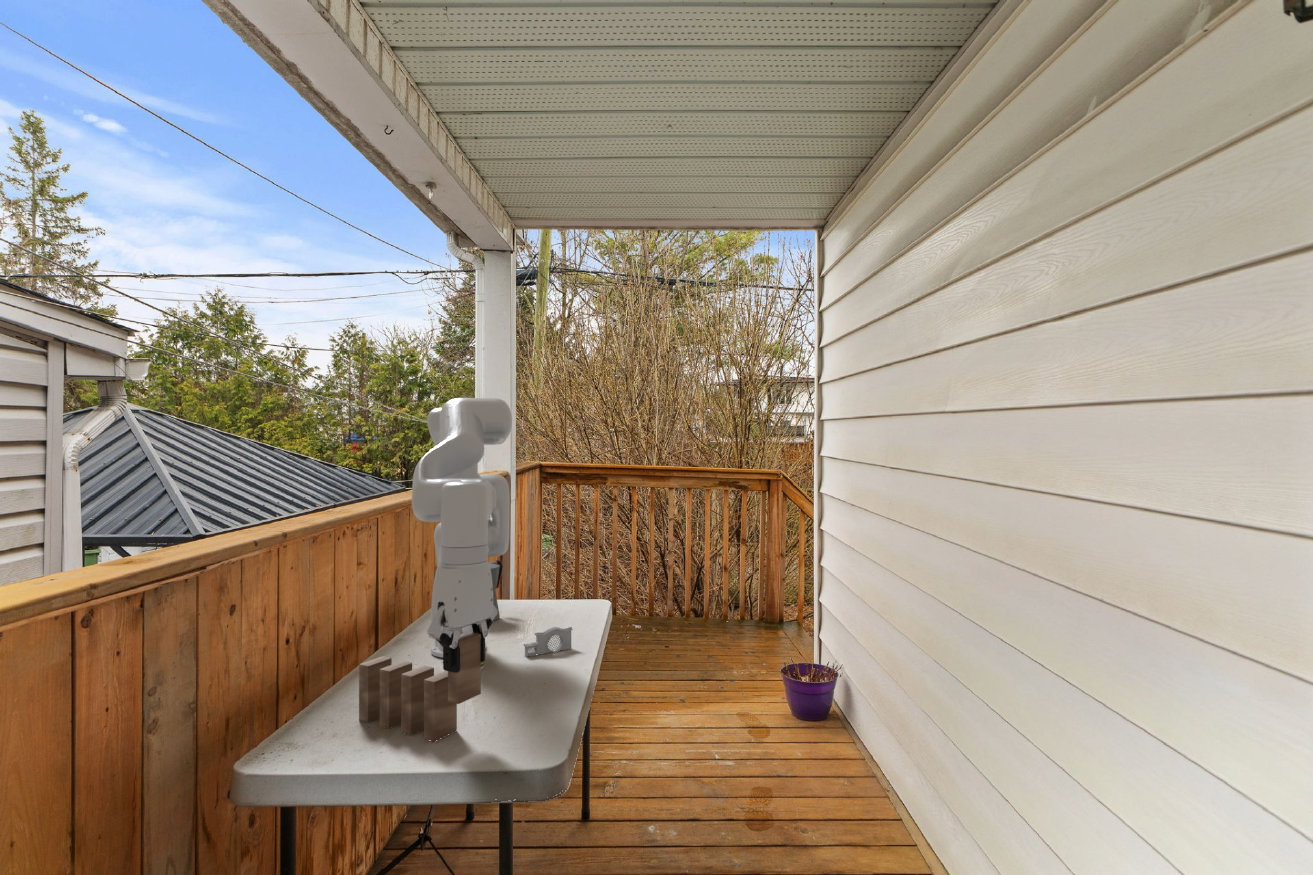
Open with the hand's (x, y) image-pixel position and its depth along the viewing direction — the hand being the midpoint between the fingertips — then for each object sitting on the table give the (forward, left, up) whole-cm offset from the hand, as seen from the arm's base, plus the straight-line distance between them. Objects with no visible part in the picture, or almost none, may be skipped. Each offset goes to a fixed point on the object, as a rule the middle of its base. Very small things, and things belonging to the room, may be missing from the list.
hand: (464, 664), depth 107 cm
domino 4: (-6, 0, -13) cm, 14 cm away
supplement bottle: (-25, +27, -13) cm, 39 cm away
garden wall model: (-17, +44, -13) cm, 49 cm away
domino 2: (-17, 0, -13) cm, 21 cm away
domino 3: (-11, 0, -13) cm, 17 cm away
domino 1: (-22, 0, -13) cm, 26 cm away
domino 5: (0, 0, -5) cm, 5 cm away
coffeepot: (-52, +60, -13) cm, 81 cm away
